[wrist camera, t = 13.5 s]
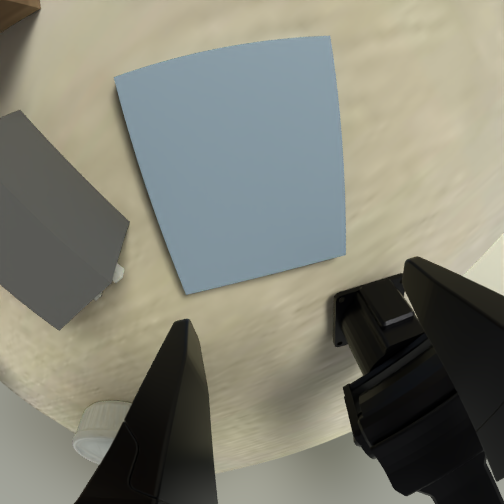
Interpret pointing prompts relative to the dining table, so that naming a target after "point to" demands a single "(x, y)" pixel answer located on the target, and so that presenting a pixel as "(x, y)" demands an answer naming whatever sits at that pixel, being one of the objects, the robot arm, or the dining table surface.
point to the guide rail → (16, 11)
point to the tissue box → (490, 268)
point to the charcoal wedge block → (52, 227)
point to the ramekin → (99, 428)
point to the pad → (241, 157)
